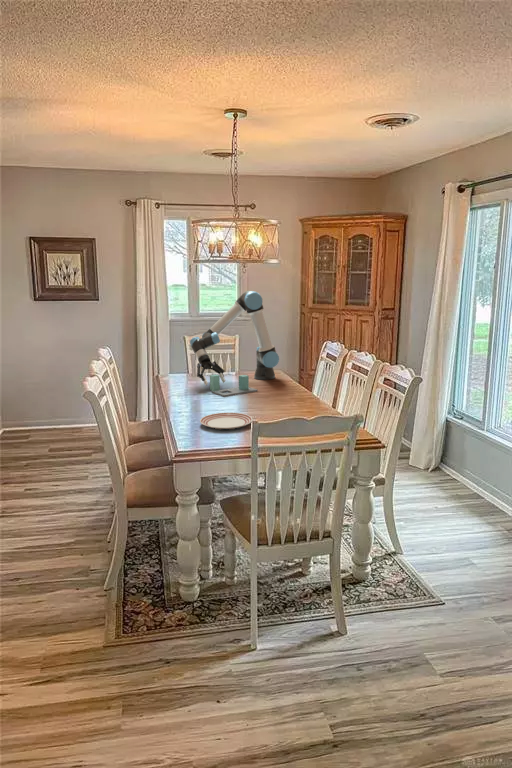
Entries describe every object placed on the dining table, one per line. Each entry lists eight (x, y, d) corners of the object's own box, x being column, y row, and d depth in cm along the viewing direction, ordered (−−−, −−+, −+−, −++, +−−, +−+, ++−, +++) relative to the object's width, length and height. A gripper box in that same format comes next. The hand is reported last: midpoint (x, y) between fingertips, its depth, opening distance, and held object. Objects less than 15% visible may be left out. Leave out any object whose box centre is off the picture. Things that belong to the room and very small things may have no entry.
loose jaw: (215, 389, 394) (215, 374, 391) (219, 390, 390) (219, 375, 388) (210, 390, 391) (209, 375, 389) (213, 391, 387) (213, 376, 385)
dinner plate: (240, 434, 292) (240, 428, 291) (190, 429, 302) (190, 423, 301) (260, 421, 317) (260, 414, 316) (214, 416, 327) (213, 410, 326)
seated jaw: (244, 389, 392) (244, 374, 390) (248, 390, 388) (248, 375, 386) (238, 390, 389) (238, 375, 387) (243, 391, 385) (242, 376, 383)
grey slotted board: (244, 387, 397) (244, 386, 397) (257, 391, 387) (257, 389, 386) (212, 393, 382) (212, 391, 382) (224, 397, 371) (224, 395, 371)
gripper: (216, 358, 407) (229, 383, 398) (184, 362, 392) (197, 388, 383) (220, 352, 401) (233, 377, 393) (188, 355, 387) (201, 382, 378)
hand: (215, 383), depth 388 cm, fingers open, 13 cm apart
